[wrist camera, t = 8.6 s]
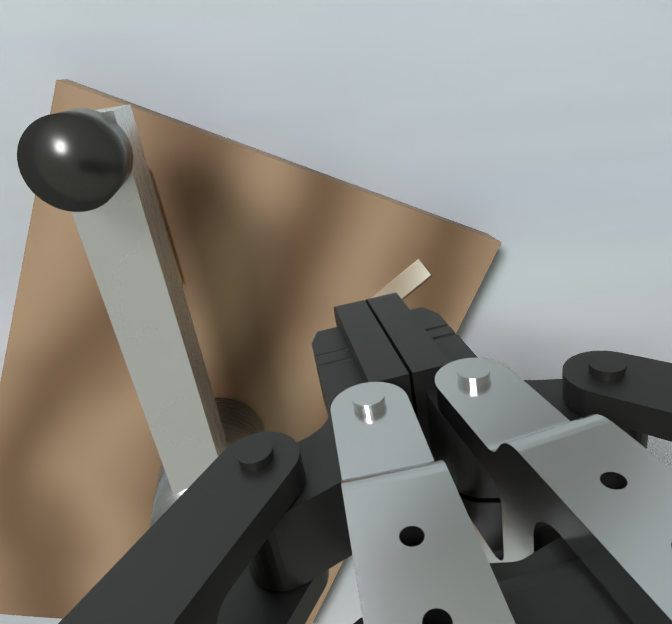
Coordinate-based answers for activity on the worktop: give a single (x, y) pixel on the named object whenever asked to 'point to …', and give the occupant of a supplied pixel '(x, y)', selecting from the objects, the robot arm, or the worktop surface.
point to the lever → (136, 284)
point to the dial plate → (211, 329)
